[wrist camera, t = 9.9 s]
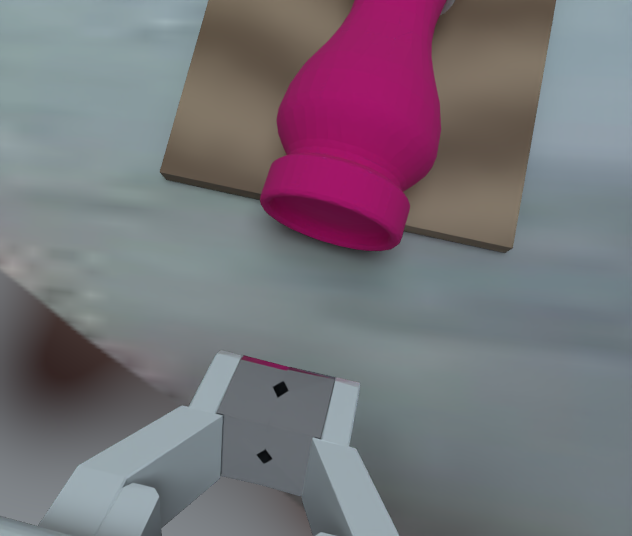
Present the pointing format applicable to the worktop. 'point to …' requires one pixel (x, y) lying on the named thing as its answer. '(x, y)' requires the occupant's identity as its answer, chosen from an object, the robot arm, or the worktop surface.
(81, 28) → the worktop surface
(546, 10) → the walnut board
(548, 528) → the worktop surface
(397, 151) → the pepper mill
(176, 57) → the worktop surface
